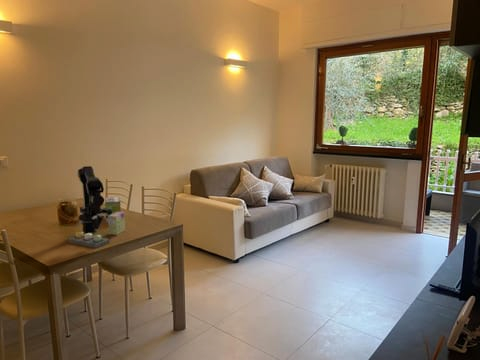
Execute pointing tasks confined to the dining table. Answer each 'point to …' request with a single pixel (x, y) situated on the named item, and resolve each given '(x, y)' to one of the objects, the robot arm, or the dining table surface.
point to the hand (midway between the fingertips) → (96, 229)
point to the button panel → (88, 242)
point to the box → (116, 223)
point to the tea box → (112, 205)
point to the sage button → (97, 238)
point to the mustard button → (79, 234)
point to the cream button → (88, 236)
